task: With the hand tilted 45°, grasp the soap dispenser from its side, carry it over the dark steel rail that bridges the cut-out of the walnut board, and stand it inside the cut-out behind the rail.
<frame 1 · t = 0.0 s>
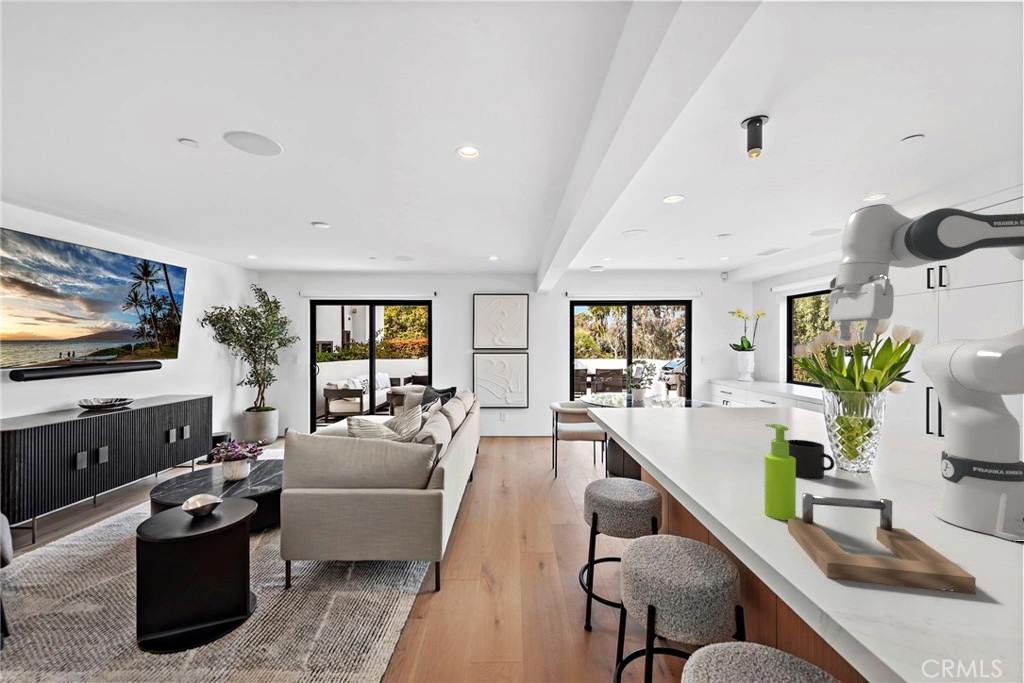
hand: (854, 340, 100), 39 cm above the kitchen island, tool pointing down, fingers open, 8 cm apart
walnut board: (868, 558, 80), on the kitchen island
mug: (809, 476, 127), on the kitchen island
soap dispenser: (778, 515, 99), on the kitchen island
steel rail: (846, 511, 87), on the walnut board, point 5 cm above the kitchen island
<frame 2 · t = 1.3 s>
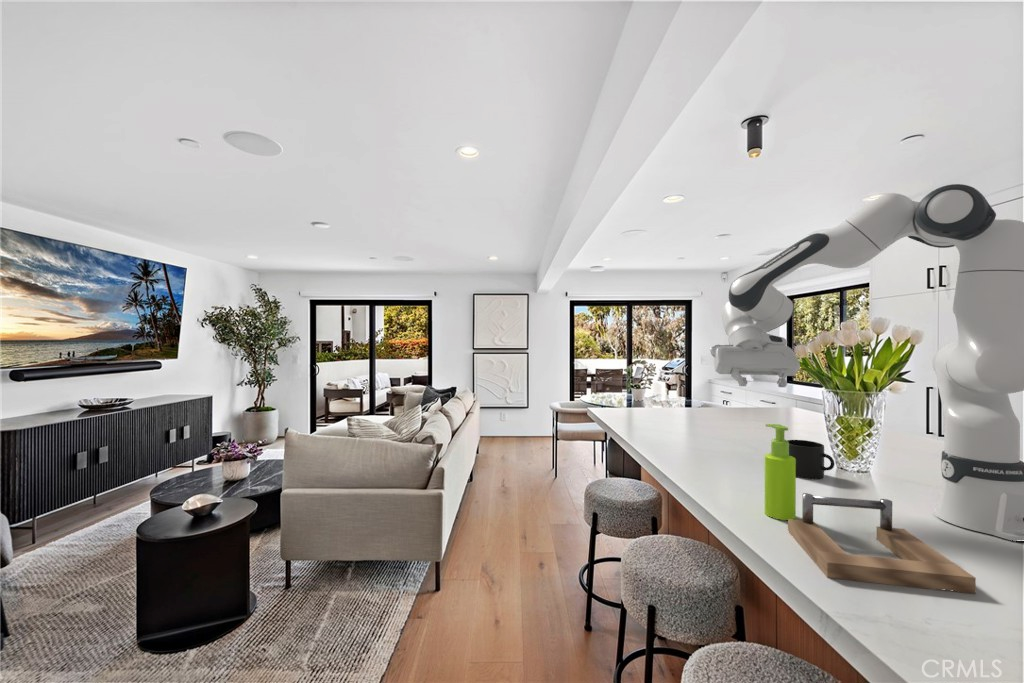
hand: (763, 385, 112), 27 cm above the kitchen island, tool tilted 45°, fingers open, 8 cm apart
nothing on the kitchen island moved.
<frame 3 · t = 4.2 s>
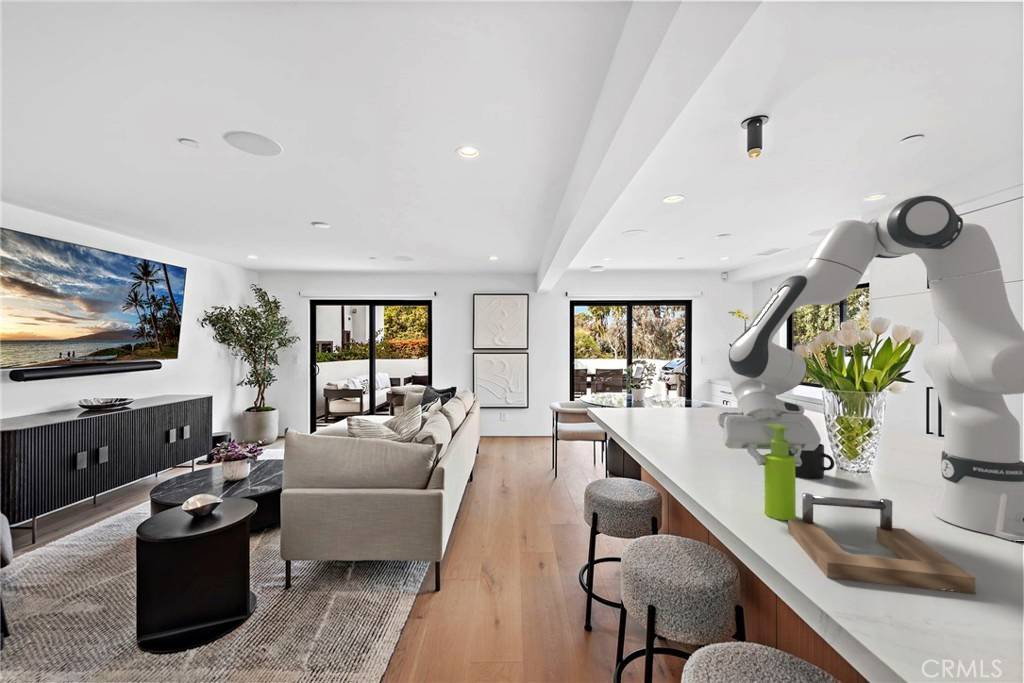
hand: (779, 464, 98), 11 cm above the kitchen island, tool tilted 45°, fingers closed on soap dispenser, 6 cm apart
soap dispenser: (778, 515, 99), on the kitchen island, touching gripper
everything else where it was.
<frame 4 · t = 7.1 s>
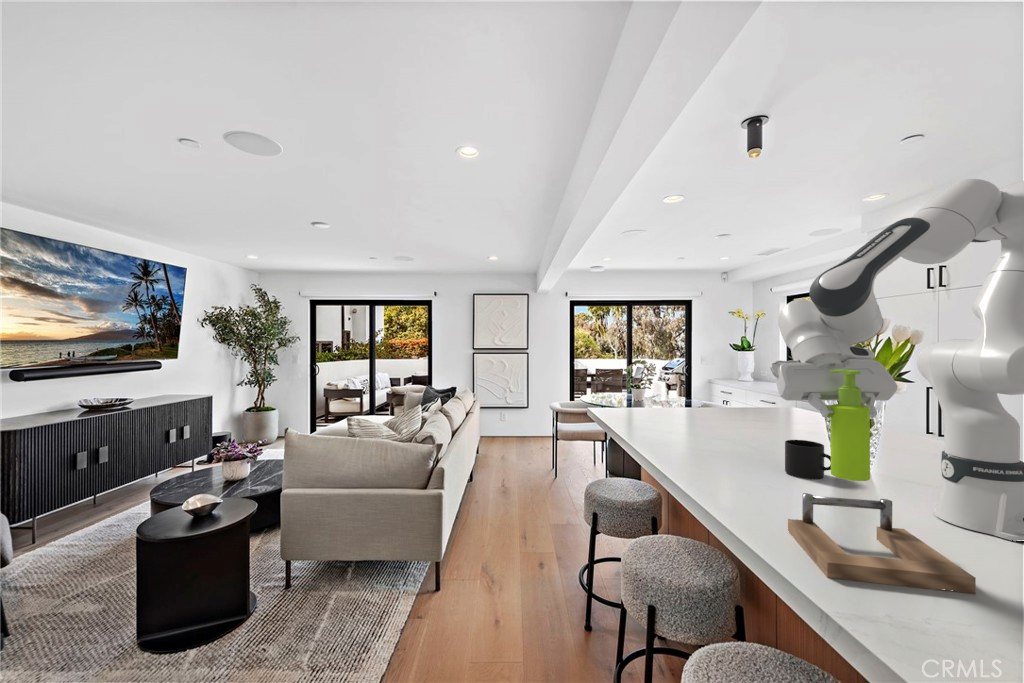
hand: (850, 415, 83), 25 cm above the kitchen island, tool tilted 45°, fingers closed on soap dispenser, 6 cm apart
soap dispenser: (847, 476, 84), point 13 cm above the kitchen island, touching gripper
everything else where it was.
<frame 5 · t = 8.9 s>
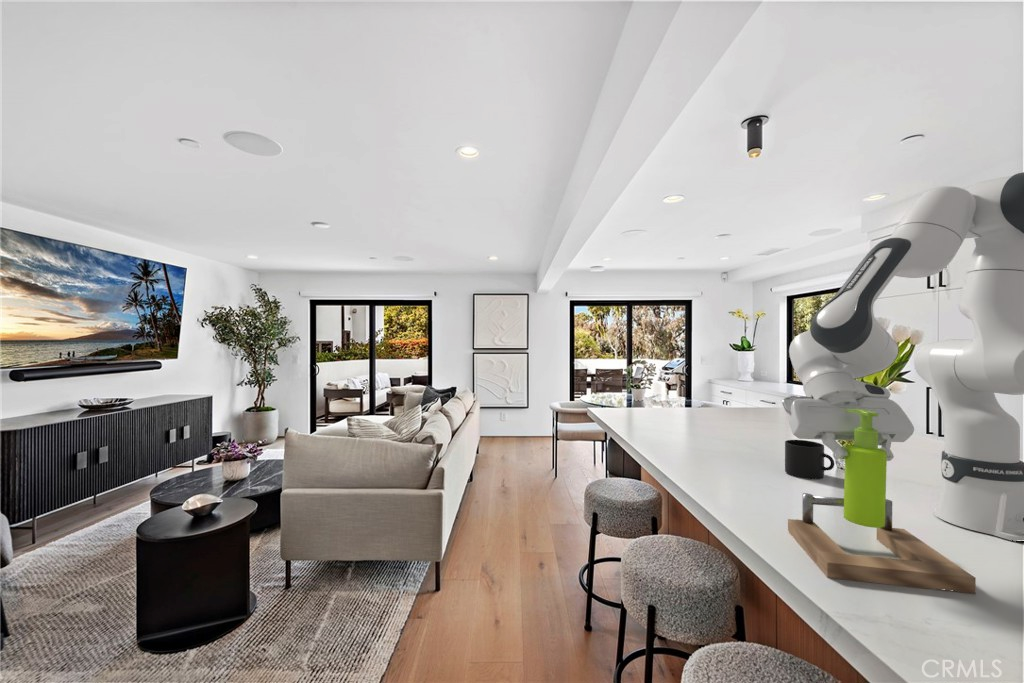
hand: (865, 458, 80), 18 cm above the kitchen island, tool tilted 45°, fingers closed on soap dispenser, 6 cm apart
soap dispenser: (861, 520, 81), point 6 cm above the kitchen island, touching gripper
everything else where it was.
when the fingers open (12 cm above the kitchen island, at t = 10.4 s): soap dispenser stays where it is, resting in walnut board.
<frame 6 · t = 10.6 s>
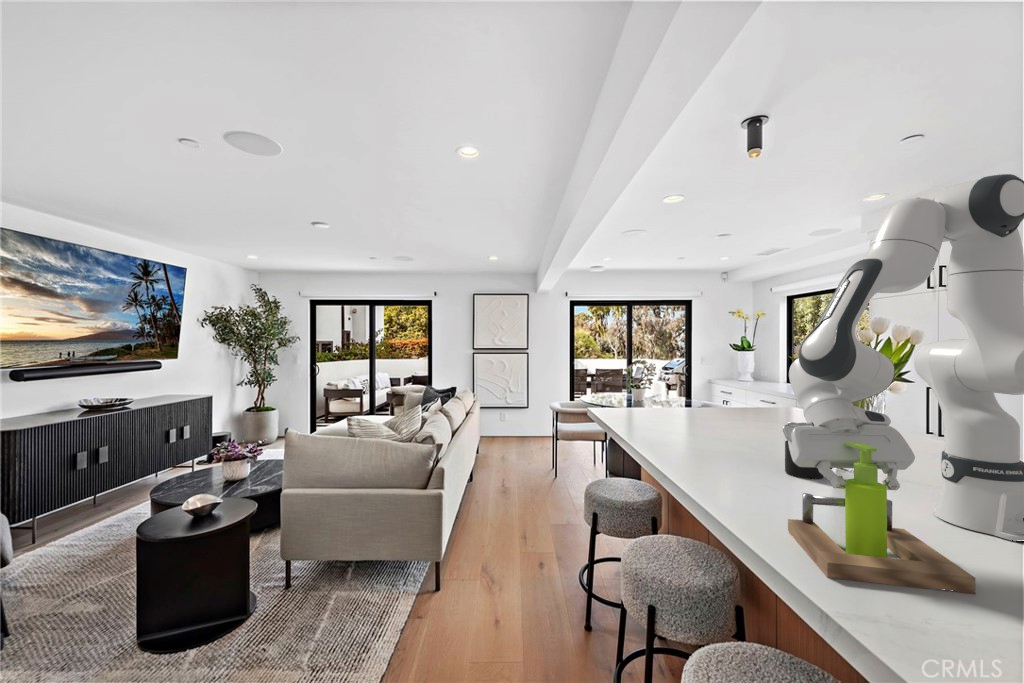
hand: (866, 487, 80), 12 cm above the kitchen island, tool tilted 45°, fingers open, 8 cm apart
soap dispenser: (863, 555, 81), resting in walnut board
everything else where it was.
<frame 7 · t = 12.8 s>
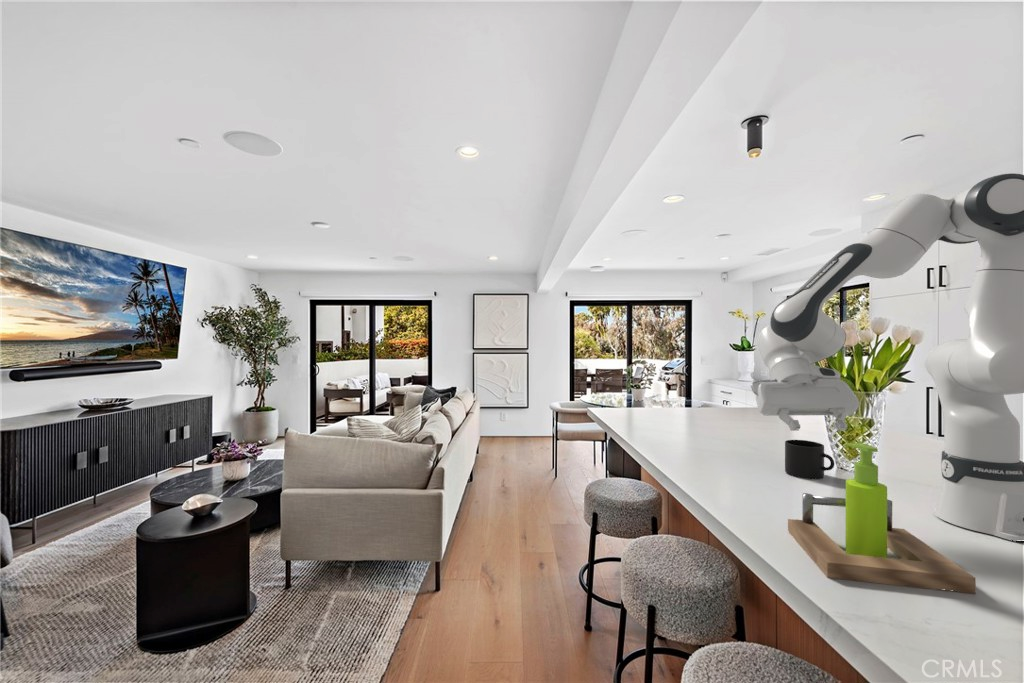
hand: (819, 429, 96), 20 cm above the kitchen island, tool tilted 45°, fingers open, 8 cm apart
nothing on the kitchen island moved.
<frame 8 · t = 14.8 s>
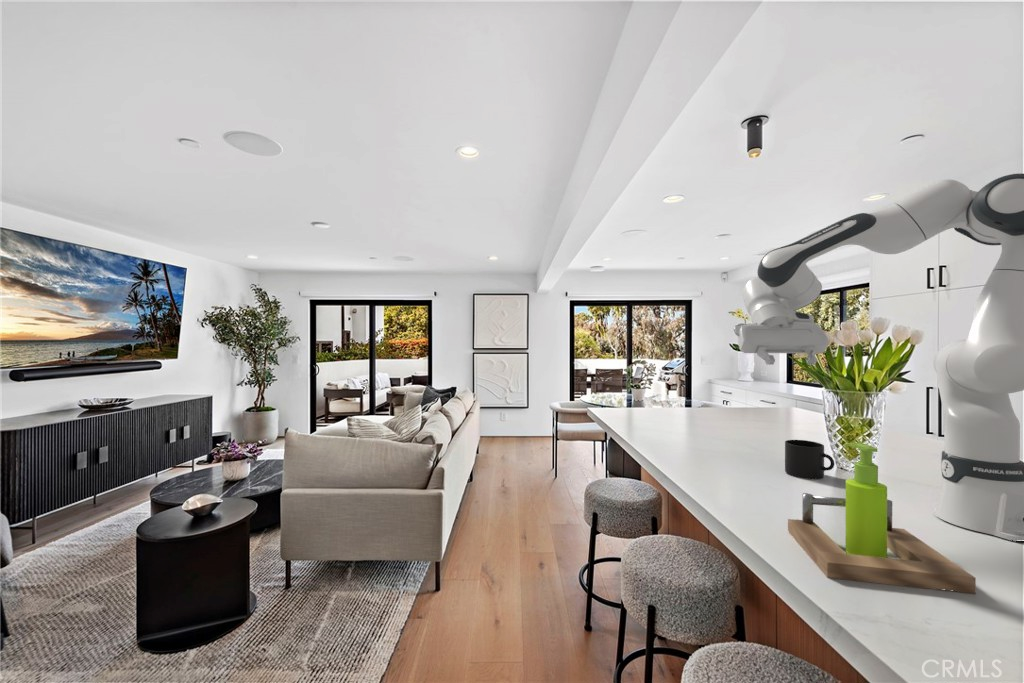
hand: (791, 363, 107), 33 cm above the kitchen island, tool tilted 45°, fingers open, 8 cm apart
nothing on the kitchen island moved.
at the end: soap dispenser inside the target area (0.5 cm from its centre), resting in walnut board; soap dispenser tilted 0°; the gripper is holding nothing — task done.
